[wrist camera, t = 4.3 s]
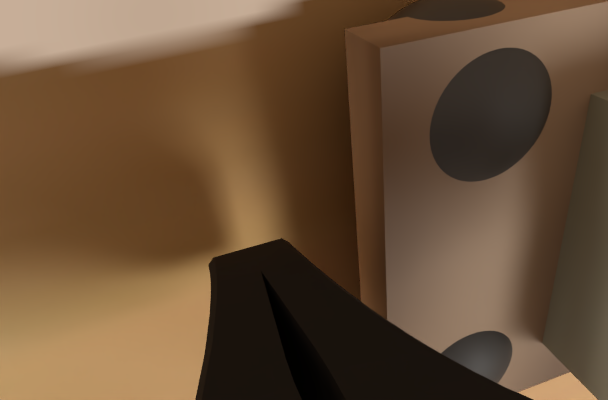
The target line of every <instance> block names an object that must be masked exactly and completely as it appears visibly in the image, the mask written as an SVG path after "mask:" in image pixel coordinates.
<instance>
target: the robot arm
mask: <svg viewBox="0 0 608 400" xmlns="http://www.w3.org/2000/svg"><path fill="white" fill-rule="evenodd" d="M209 270H210V277H211V303H210V317H209V325H208V333H207V341H206V349H205V355H204V361H203V365H202V370H201V375H200V380H199V385H198V390H197V395H196V400H533V399H531V398H528V397H526V396H524V395H522V394H519V393H517V392H515V391H513V390H510V389H508V388H506V387H504V386H502V385H500V384H498V383H496V382H494V381H492V380H490V379H488V378H486V377H484V376H482V375H480V374H478V373H476V372H474V371H472V370H470V369H468V368H466V367H465V366H463V365H461V364H459V363H457V362H456V361H454V360H452V359H450V358H448V357H446V356H445V355H443V354H441V353H439V352H438V351H436V350H434V349H432V348H431V347H429V346H427V345H426V344H424V343H422V342H421V341H419V340H418V339H416V338H414V337H413V336H411V335H409V334H408V333H406V332H405V331H403V330H402V329H400V328H399V327H397V326H396V325H394V324H393V323H391V322H389V321H388V320H386V319H385V318H383V317H382V316H381V315H379V314H378V313H376V312H375V311H373V310H372V309H371V308H369V307H368V306H366V305H365V304H364V303H362V302H361V301H360V300H358V299H357V298H356V297H354V296H353V295H352V294H350V293H349V292H347V291H346V290H345V289H343V288H342V287H341V286H339V285H338V284H337V283H336V282H334V281H333V280H332V279H331V278H329V277H328V276H327V275H326V274H324V273H323V272H322V271H321V270H320V269H318V268H317V267H316V266H315V265H314V264H312V263H311V262H310V261H309V260H308V259H307V258H306V257H304V256H303V255H302V254H301V253H300V252H299V251H298V250H297V249H296V248H294V247H293V246H292V245H291V244H290V243H289V242H288V241H286V240H284V239H282V238H281V239H278V240H274V241H271V242H267V243H264V244H260V245H257V246H253V247H250V248H246V249H242V250H239V251H235V252H232V253H228V254H225V255H221V256H218V257H214V258H213V259H212V261H211V262H210V263H209Z"/></svg>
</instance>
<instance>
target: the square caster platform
mask: <svg viewBox="0 0 608 400" xmlns="http://www.w3.org/2000/svg"><path fill="white" fill-rule="evenodd" d="M345 44H346V60H347V77H348V93H349V109H350V126H351V142H352V159H353V175H354V192H355V208H356V225H357V241H358V258H359V274H360V290H361V302H362V303H364V304H365V305H366V306H368V307H369V308H371V309H372V310H373V311H375V312H376V313H378V314H379V315H381V316H382V317H383V318H385V319H386V320H388V321H389V322H391V323H393V324H394V325H396V326H397V327H399V328H400V329H402V330H403V331H405V332H406V333H408V334H409V335H411V336H413V337H414V338H416V339H418V340H419V341H421V342H422V343H424V344H426V345H427V346H429V347H431V348H432V349H434V350H436V351H438V352H439V353H441V354H443V355H445V356H446V357H448V358H450V359H452V360H454V361H456V362H457V363H459V364H461V365H463V366H465V367H466V368H468V369H470V370H472V371H474V372H476V373H478V374H480V375H482V376H484V377H486V378H488V379H490V380H492V381H494V382H496V383H498V384H500V385H502V386H504V387H506V388H508V389H510V390H513V391H515V392H520V391H522V390H525V389H527V388H530V387H532V386H535V385H538V384H540V383H543V382H545V381H548V380H551V379H553V378H556V377H558V376H561V375H563V374H566V373H569V372H571V373H572V374H573V375H574V376H575V377H576V378H577V379H578V380H579V381H580V382H581V383H582V384H583V385H584V386H585V387H586V388H587V389H588V390H589V391H590V392H591V393H592V394H593V395H594V396H595V397H596V398H597V399H598V400H608V0H419V1H417V2H414V3H412V4H410V5H408V6H406V7H405V8H403V9H401V10H400V11H399V12H397V13H396V14H395V15H393V16H392V17H391V18H390V19H389V20H388V21H383V22H378V23H373V24H368V25H363V26H357V27H352V28H347V29H345Z"/></svg>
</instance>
